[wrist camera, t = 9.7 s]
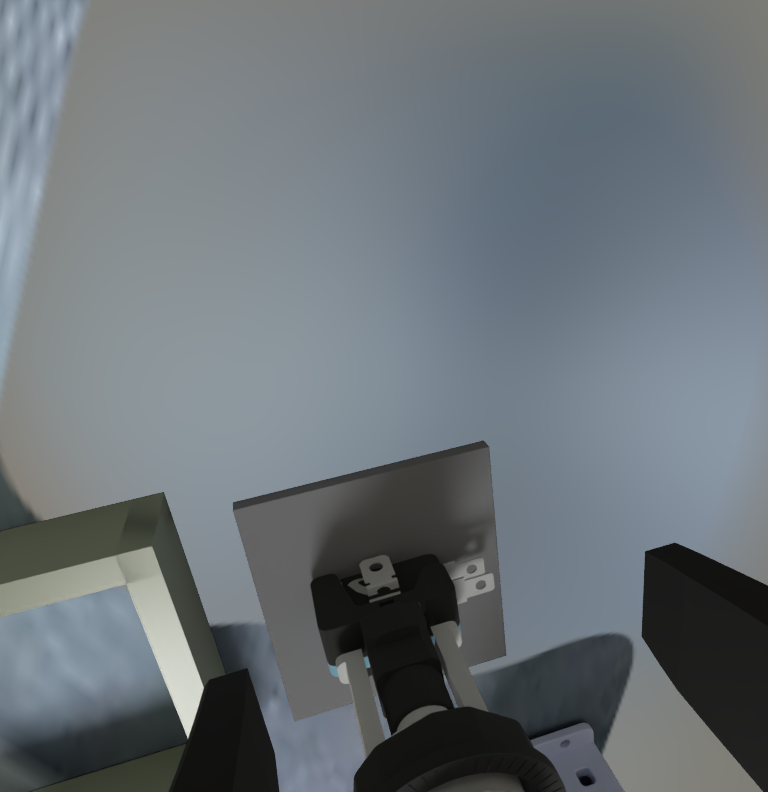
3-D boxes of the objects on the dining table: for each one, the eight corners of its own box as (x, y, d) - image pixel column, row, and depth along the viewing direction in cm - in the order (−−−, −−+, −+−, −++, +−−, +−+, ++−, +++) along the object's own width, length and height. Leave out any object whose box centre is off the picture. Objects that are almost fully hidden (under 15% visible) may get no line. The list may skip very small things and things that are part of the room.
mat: (483, 440, 21) (489, 446, 21) (501, 646, 25) (506, 655, 25) (233, 502, 20) (232, 510, 19) (293, 710, 24) (294, 721, 23)
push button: (471, 498, 21) (645, 743, 12) (484, 610, 24) (641, 889, 14) (291, 549, 20) (336, 855, 11) (321, 661, 22) (380, 995, 13)
